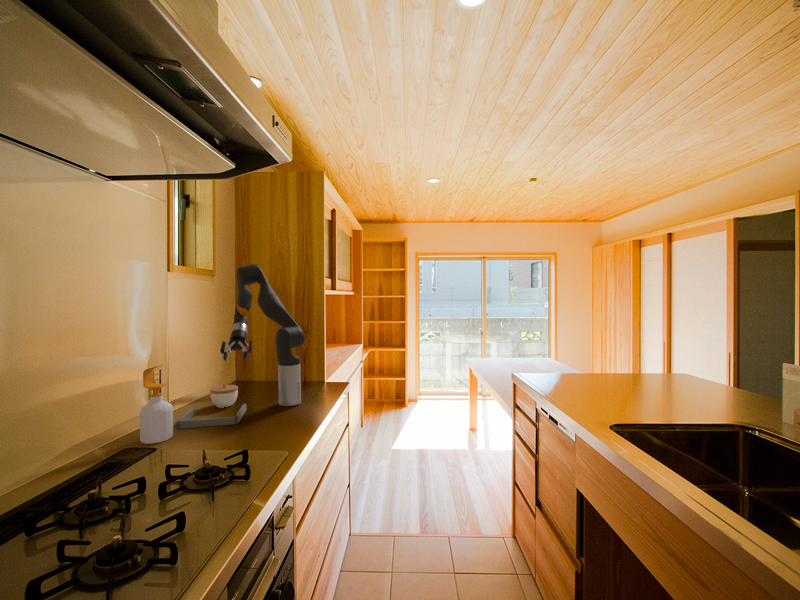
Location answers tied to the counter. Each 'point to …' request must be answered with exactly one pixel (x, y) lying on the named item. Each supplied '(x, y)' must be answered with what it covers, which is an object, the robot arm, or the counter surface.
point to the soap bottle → (155, 413)
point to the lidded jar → (224, 395)
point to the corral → (208, 419)
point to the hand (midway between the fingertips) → (234, 359)
